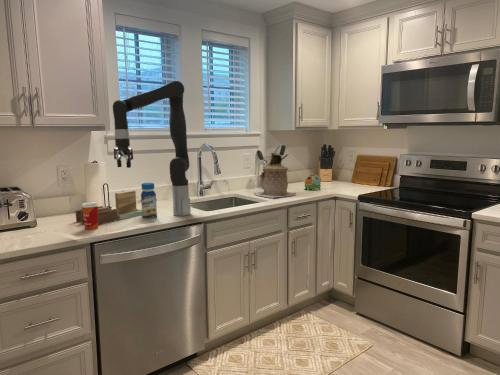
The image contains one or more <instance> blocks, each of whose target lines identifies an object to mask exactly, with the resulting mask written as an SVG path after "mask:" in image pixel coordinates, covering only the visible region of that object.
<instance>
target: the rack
mask: <svg viewBox="0 0 500 375" xmlns="http://www.w3.org/2000/svg"><path fill="white" fill-rule="evenodd" d="M103 207H105V208H107V211H102V212H98V225H103V224H107V223H111V222H112V223H113V222H116V221H118V220H119V219H118V215H117V209H116V208H113V209H109V206H103V205H98V208H103ZM75 221H76V223H78V224H82V225H85V224H84V217H83V210H82V209H79V210H78V209H77V210H75Z"/></svg>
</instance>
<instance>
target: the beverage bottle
mask: <svg viewBox="0 0 500 375" xmlns="http://www.w3.org/2000/svg"><path fill="white" fill-rule="evenodd" d="M141 190H142V192H141V194H140V198H141V199H140V203H141V210H142V216H141V218H143V219H155V220H157V219H158V211H157V210H158V209H157V197H156V196H157V194H156V192H155V183H154V182H142V183H141Z"/></svg>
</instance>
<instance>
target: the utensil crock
mask: <svg viewBox="0 0 500 375" xmlns="http://www.w3.org/2000/svg"><path fill="white" fill-rule="evenodd" d="M270 154H271V157H270V158H271V159H270V162H269V163H268V164H266V165H264V166H263V168H262V172H261V173H260V175H259V178H260V181H261V188H262V190H263V191H259V192H258V191H252V193H253V195H256V197H257V196H259V197H264V198H268V199H271V200H273V199H275V198H284V197H295V196H297V192H290V191H289V192H288V186H289V182H288V174H287V172H288V170H289V168H288V167H286V166H284V165H282V156H281V155H280V154H278V153H274V152H271V153H270Z"/></svg>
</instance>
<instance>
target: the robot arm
mask: <svg viewBox="0 0 500 375" xmlns="http://www.w3.org/2000/svg"><path fill="white" fill-rule="evenodd" d="M184 94H185V86H184V84H183V83H182V82H181V81H180V80H171V81H170V82H169V83H167V84H165V85H162V86H161V87H158V88H155V89H153V90H148V91H145V92H142V93H139V94H135V95H132V96H130V97H128V98H126V99H122V100H120V99H119V100H115V101H114V102H113V103H112V114H113V119H114V144H115V147H116V148H113V159H114V160H116V164H117V168H122V158H124V159H125V161H126V162H125V163H126V164H125V165H126V168H127V169H129V168H131V167H132V162H131V161H132V160H134V152H133V148H129V147H130V146H131V142H130V131H129V121H128V118H127V117H128V116H127V115H128V114H127V113H130V112H131V111H134V110H137V109H141V108H144V107H147V106H150V105H152V104H155V103H156V102H159V101H161V100H166V99H168V101H169V119H168V120H169V133H170V134H169V135H170V138H171V141H172V143H173V146H174V149H175V151H174V152H175V157H174V158H171V160H170V163H169V177H170V181H171V185H172V186H171V188H172V190H171V191H172V211H173V215H174V216H176V217H178V216H179V217H183V216H184V217H185V216H188V215H191V212H192V210H191V198H190V195H189V190H190V189H189V179H187V176H186V172H187V171H188V170H189V168H190V159H189V153H188V152H189V151H188V138H187V123H186V122H187V121H186V114H185V111H184Z"/></svg>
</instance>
